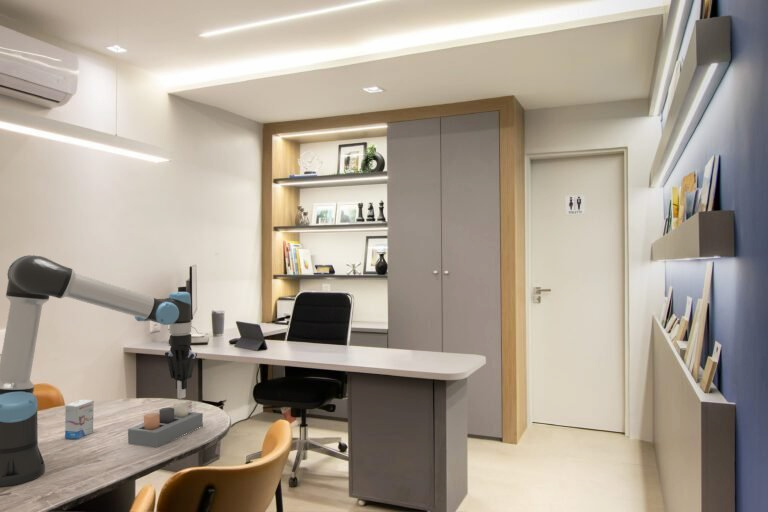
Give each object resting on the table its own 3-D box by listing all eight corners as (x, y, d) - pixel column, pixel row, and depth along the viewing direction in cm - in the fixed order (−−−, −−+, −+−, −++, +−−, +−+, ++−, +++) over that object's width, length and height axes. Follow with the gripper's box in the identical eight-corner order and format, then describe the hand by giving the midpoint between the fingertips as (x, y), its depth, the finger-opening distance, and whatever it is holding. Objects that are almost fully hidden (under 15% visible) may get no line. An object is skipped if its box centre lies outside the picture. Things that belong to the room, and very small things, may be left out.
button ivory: (182, 422, 206) (182, 406, 206) (171, 421, 208) (170, 405, 207) (191, 419, 211) (191, 403, 210) (180, 417, 212) (180, 401, 212)
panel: (156, 447, 189) (156, 432, 189) (128, 443, 193) (128, 429, 193) (202, 426, 211) (202, 413, 211) (176, 423, 215) (176, 410, 215)
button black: (167, 429, 199) (167, 412, 199) (156, 427, 200) (156, 410, 200) (177, 424, 203) (177, 408, 203) (166, 423, 205) (166, 407, 205)
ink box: (77, 439, 197) (76, 405, 197) (64, 438, 198) (64, 405, 198) (94, 431, 206) (94, 399, 205) (82, 431, 207) (81, 398, 206)
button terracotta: (152, 435, 192) (152, 418, 192) (140, 434, 193) (140, 416, 193) (162, 431, 196) (162, 414, 196) (151, 429, 198) (151, 412, 198)
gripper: (201, 333, 210) (202, 396, 210) (173, 331, 214) (174, 393, 215) (188, 336, 203) (189, 401, 203) (159, 334, 207) (160, 398, 208)
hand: (181, 397), depth 209 cm, fingers closed
